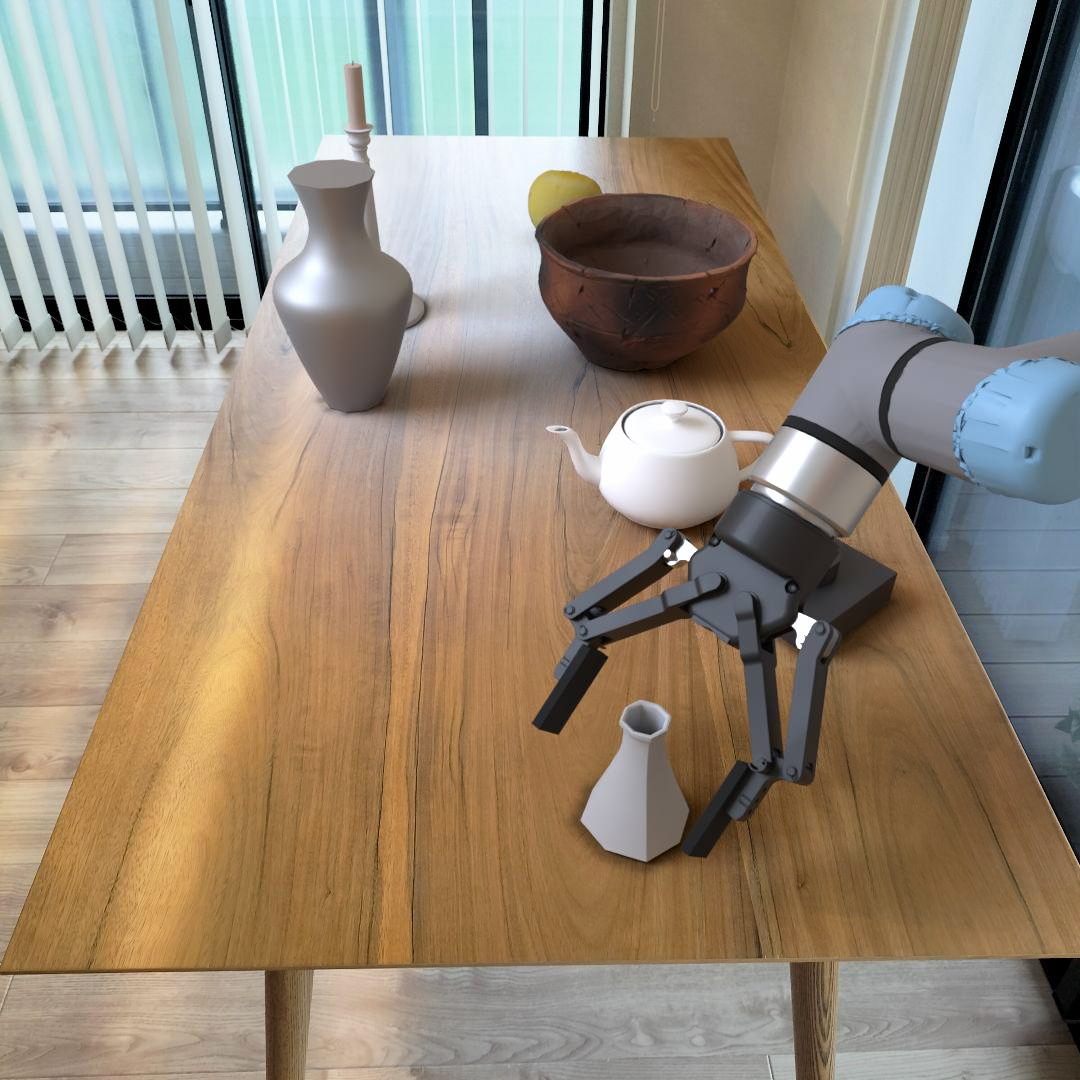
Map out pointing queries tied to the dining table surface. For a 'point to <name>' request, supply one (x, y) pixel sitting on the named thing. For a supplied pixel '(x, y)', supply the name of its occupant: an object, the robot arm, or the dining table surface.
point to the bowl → (642, 275)
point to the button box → (849, 591)
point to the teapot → (665, 463)
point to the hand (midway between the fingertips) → (614, 788)
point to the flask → (638, 790)
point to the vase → (342, 290)
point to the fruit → (557, 192)
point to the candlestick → (367, 160)
